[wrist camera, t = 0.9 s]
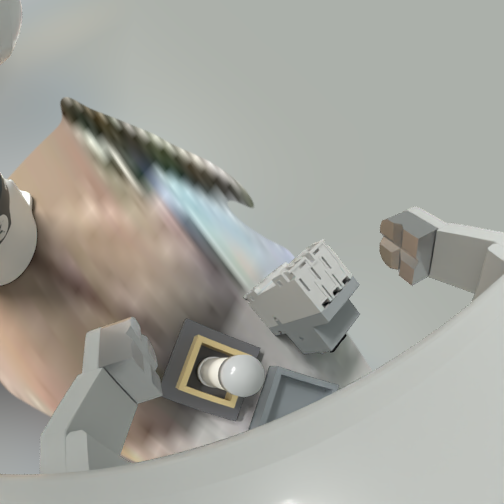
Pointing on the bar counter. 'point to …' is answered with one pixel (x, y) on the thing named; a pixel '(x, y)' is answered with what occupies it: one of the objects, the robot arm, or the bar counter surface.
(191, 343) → the block
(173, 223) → the bar counter surface
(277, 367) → the parts tray
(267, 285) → the circuit breaker
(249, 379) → the cylinder
